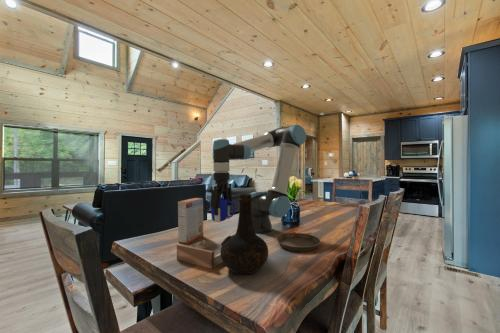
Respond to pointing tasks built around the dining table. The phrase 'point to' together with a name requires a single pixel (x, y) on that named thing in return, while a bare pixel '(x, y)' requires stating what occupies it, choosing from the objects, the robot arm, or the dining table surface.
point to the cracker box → (190, 219)
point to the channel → (198, 255)
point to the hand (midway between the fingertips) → (222, 220)
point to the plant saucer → (298, 241)
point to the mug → (223, 209)
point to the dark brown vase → (244, 243)
